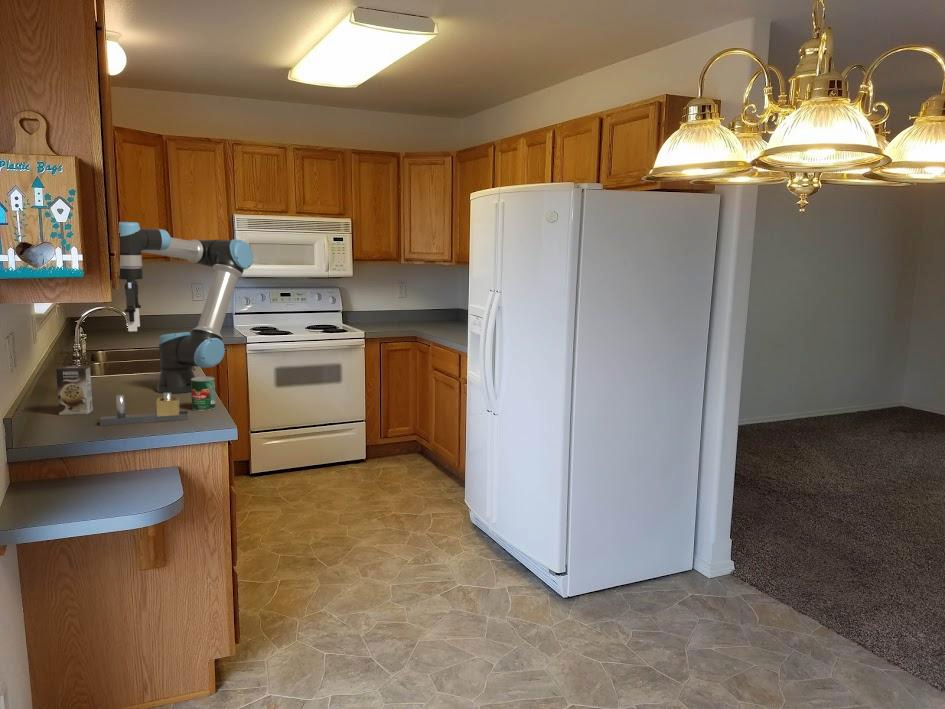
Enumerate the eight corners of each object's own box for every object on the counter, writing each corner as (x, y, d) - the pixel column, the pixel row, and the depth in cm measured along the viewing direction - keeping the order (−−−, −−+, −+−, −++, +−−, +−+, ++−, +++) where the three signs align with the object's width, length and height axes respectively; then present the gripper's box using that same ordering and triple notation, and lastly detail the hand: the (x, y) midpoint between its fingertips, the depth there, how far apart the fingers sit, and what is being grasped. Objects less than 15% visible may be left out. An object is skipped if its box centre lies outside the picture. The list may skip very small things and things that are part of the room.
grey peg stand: (101, 422, 220) (99, 395, 218) (188, 416, 229) (187, 390, 228) (100, 425, 216) (98, 398, 215) (188, 419, 226) (186, 393, 224)
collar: (158, 412, 227) (157, 397, 226) (179, 410, 229) (178, 396, 228) (157, 416, 221) (156, 401, 220) (178, 415, 223) (178, 400, 222)
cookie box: (58, 415, 228) (54, 368, 226) (64, 411, 235) (60, 365, 232) (88, 414, 231) (85, 367, 228) (93, 409, 237) (90, 364, 235)
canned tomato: (192, 412, 236) (190, 381, 234) (192, 407, 243) (190, 377, 242) (216, 410, 239) (215, 379, 237) (215, 405, 246) (214, 375, 245)
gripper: (121, 266, 243) (125, 325, 246) (114, 268, 220) (118, 333, 223) (144, 266, 246) (148, 324, 249) (139, 268, 223) (144, 332, 226)
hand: (134, 328), depth 236 cm, fingers open, 13 cm apart
